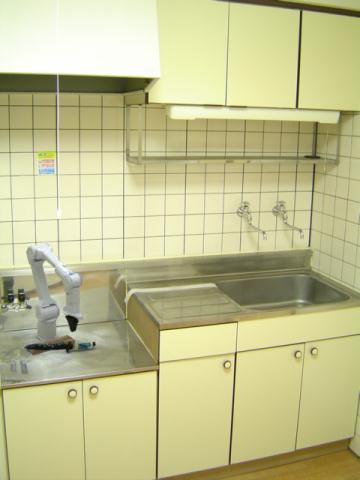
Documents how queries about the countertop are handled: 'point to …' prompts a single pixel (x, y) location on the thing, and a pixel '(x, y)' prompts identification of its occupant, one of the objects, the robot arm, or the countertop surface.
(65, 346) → the knife
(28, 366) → the countertop surface
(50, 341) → the walnut board
